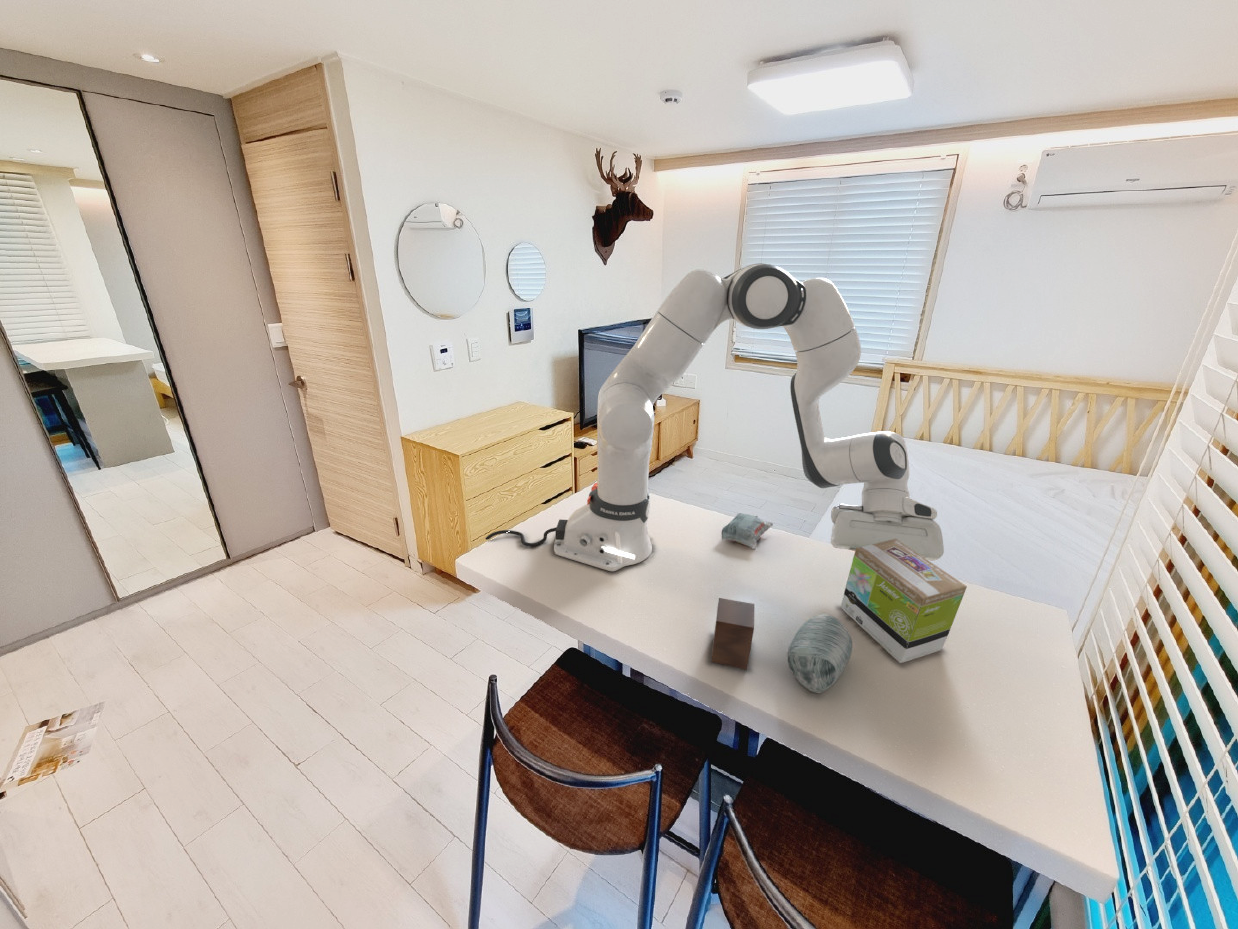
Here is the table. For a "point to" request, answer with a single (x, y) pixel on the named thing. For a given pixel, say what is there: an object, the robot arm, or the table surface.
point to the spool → (819, 652)
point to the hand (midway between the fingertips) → (885, 576)
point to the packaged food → (745, 529)
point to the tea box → (901, 599)
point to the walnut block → (733, 633)
